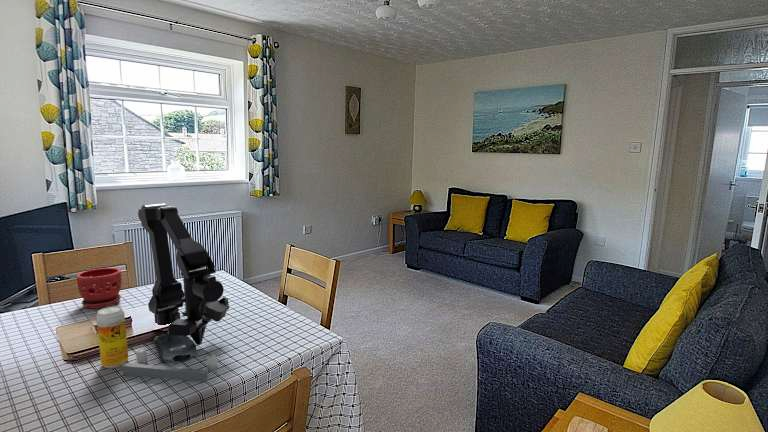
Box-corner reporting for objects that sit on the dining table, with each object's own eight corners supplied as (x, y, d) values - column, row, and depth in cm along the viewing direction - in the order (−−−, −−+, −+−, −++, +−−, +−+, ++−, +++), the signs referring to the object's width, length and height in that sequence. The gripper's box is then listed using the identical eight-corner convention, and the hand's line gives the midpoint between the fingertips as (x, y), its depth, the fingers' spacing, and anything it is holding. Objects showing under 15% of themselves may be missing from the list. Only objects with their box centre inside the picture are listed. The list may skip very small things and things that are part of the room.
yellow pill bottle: (108, 371, 105) (102, 316, 103) (97, 364, 108) (91, 311, 106) (133, 361, 110) (128, 309, 108) (121, 355, 114) (116, 303, 111)
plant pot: (130, 301, 151) (127, 270, 149) (90, 313, 140) (86, 280, 138) (113, 294, 158) (110, 264, 155) (73, 305, 147) (69, 273, 145)
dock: (122, 374, 104) (120, 362, 103) (141, 360, 111) (140, 348, 110) (205, 382, 102) (204, 369, 101) (219, 367, 108) (218, 355, 108)
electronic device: (150, 352, 119) (164, 367, 107) (151, 333, 119) (164, 346, 107) (185, 347, 125) (201, 360, 113) (186, 328, 125) (202, 340, 113)
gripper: (204, 307, 105) (208, 363, 108) (238, 283, 124) (240, 331, 126) (164, 304, 107) (168, 360, 109) (203, 281, 125) (206, 329, 128)
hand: (199, 344), depth 118 cm, fingers closed
